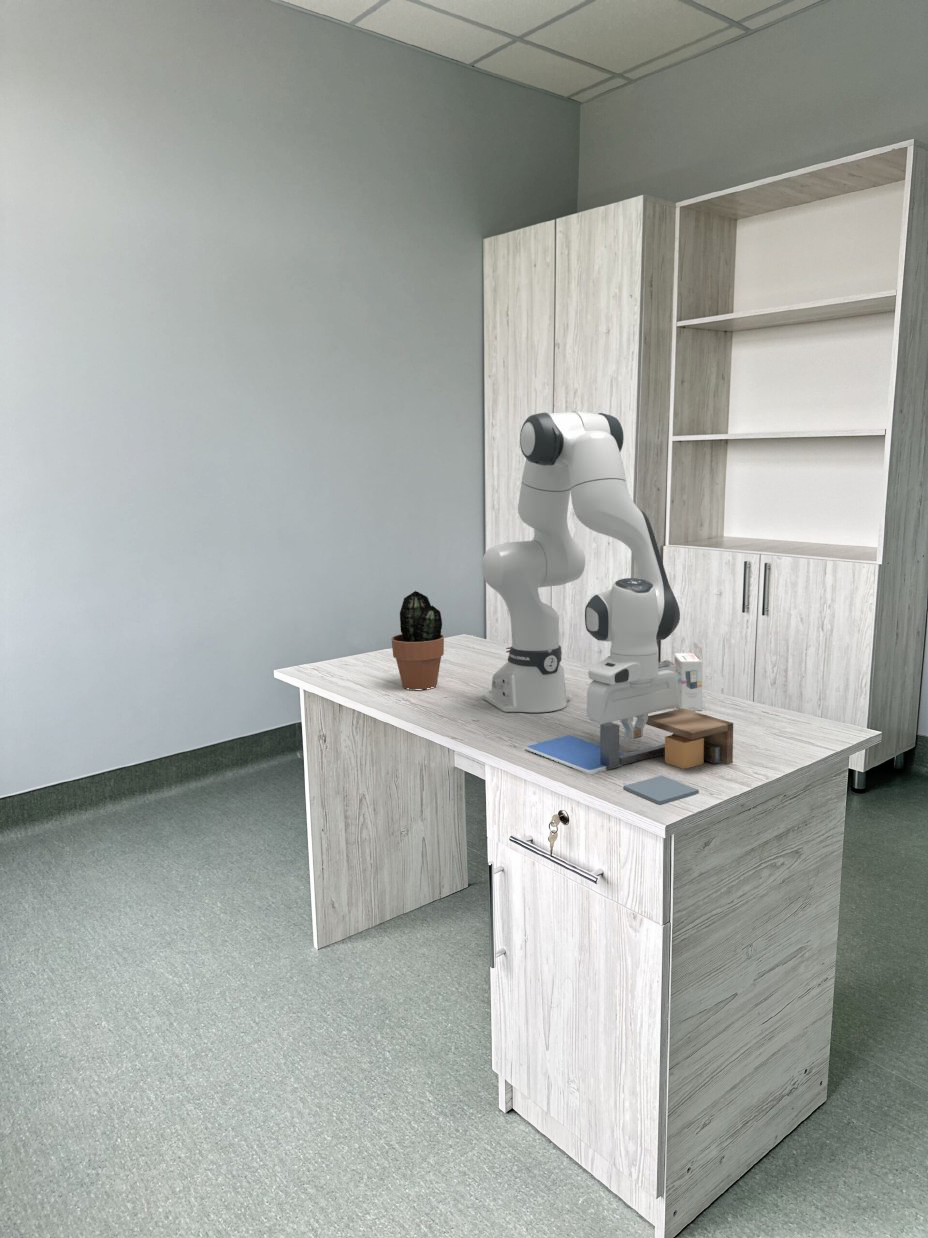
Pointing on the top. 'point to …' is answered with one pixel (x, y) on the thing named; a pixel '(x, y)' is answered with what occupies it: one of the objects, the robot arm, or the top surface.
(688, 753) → the orange block
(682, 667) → the ink box
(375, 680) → the top surface
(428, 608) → the potted plant
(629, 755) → the grey u-shaped bracket
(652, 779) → the slate mat
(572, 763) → the blue flat slab
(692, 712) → the walnut shelf
